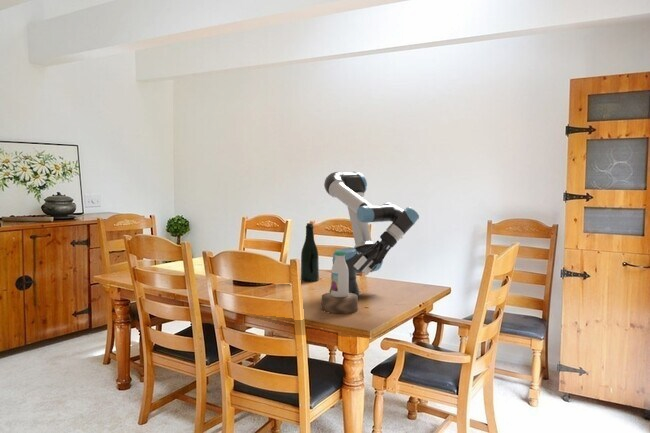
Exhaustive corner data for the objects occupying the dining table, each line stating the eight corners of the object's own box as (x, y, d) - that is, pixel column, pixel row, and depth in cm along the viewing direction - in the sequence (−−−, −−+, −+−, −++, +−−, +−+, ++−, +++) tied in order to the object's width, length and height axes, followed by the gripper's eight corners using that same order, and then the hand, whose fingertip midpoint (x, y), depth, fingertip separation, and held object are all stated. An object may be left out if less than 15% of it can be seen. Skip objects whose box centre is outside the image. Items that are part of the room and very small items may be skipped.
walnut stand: (319, 313, 215) (319, 299, 214) (324, 304, 231) (324, 291, 230) (356, 314, 213) (356, 300, 213) (358, 305, 229) (358, 292, 228)
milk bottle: (347, 293, 225) (348, 250, 224) (349, 297, 218) (349, 252, 216) (330, 294, 225) (330, 250, 224) (331, 298, 218) (331, 252, 216)
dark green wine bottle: (299, 278, 291) (299, 222, 288) (317, 278, 293) (317, 222, 290) (301, 282, 280) (301, 224, 278) (320, 281, 282) (320, 223, 280)
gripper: (407, 245, 213) (374, 281, 211) (387, 238, 237) (357, 271, 235) (395, 233, 212) (362, 269, 210) (377, 227, 236) (346, 260, 234)
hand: (359, 270), depth 222 cm, fingers open, 13 cm apart
